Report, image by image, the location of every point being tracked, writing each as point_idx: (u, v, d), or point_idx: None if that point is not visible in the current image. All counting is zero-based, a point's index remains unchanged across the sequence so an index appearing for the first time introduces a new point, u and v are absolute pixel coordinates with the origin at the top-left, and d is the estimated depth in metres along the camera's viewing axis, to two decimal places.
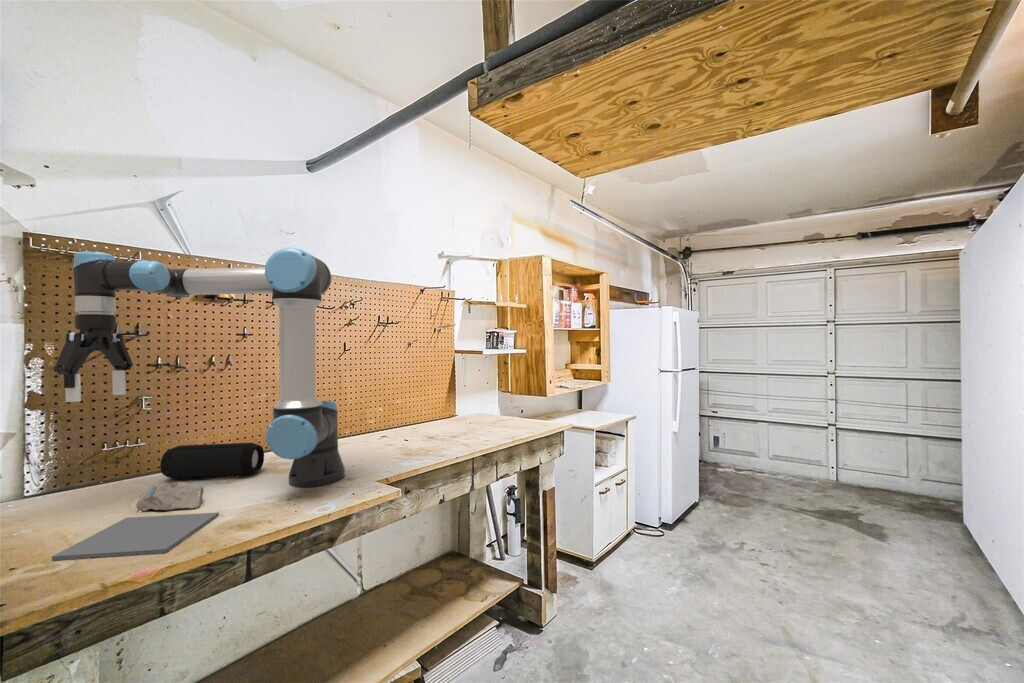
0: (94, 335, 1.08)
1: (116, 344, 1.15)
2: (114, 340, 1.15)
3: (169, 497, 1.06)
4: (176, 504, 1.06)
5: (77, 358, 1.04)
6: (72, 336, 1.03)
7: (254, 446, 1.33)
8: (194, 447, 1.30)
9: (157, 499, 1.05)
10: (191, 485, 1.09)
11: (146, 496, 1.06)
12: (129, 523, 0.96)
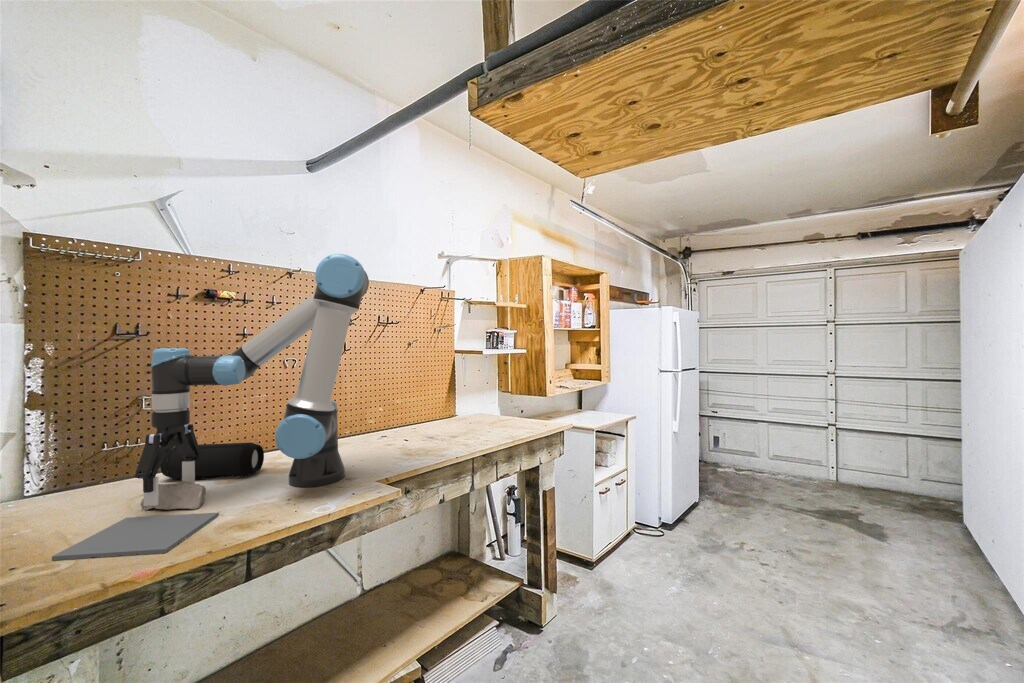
0: (170, 433, 1.06)
1: (187, 435, 1.14)
2: (185, 432, 1.13)
3: (171, 497, 1.06)
4: (177, 504, 1.06)
5: (155, 460, 1.02)
6: (151, 438, 1.01)
7: (254, 446, 1.33)
8: None
9: (159, 498, 1.06)
10: (193, 485, 1.09)
11: None
12: (129, 523, 0.96)
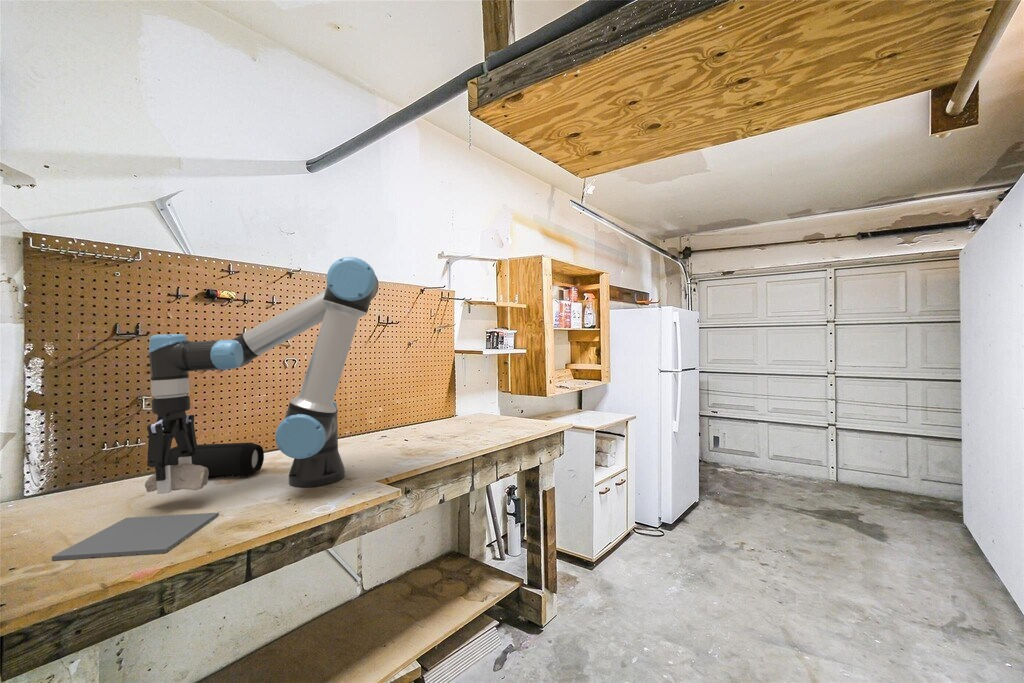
0: (171, 417, 1.06)
1: (186, 425, 1.13)
2: (186, 421, 1.13)
3: (173, 478, 1.06)
4: (180, 485, 1.06)
5: (163, 449, 1.04)
6: (153, 429, 1.01)
7: (254, 446, 1.33)
8: None
9: None
10: (196, 467, 1.09)
11: (153, 476, 1.06)
12: (129, 523, 0.96)
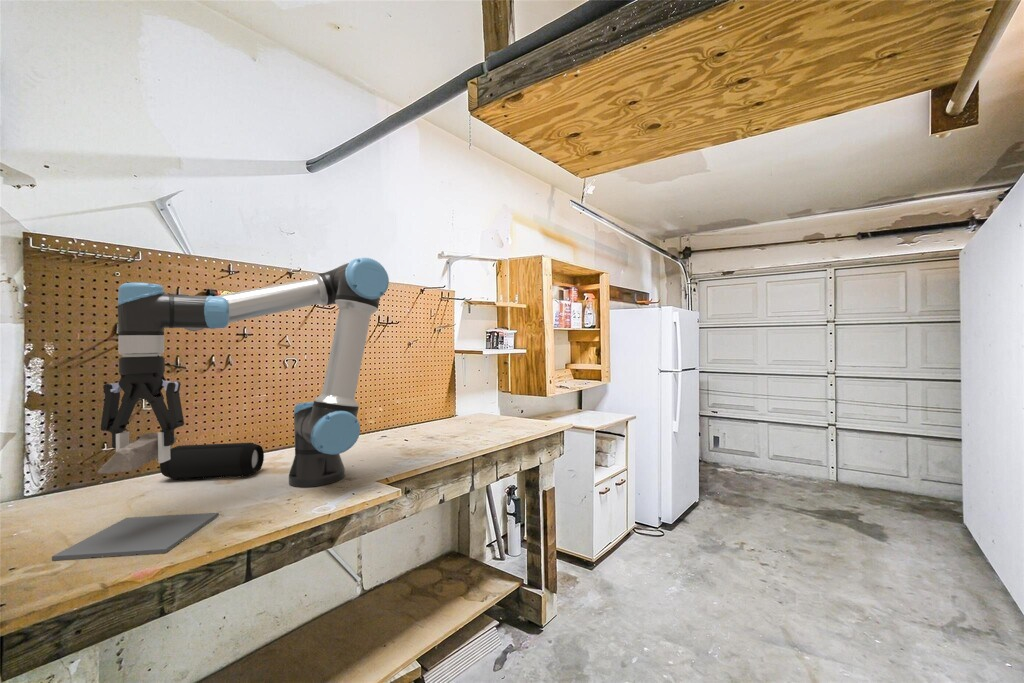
0: (128, 380, 0.91)
1: None
2: None
3: None
4: None
5: None
6: None
7: (254, 446, 1.33)
8: (194, 447, 1.30)
9: None
10: (127, 445, 0.88)
11: None
12: (129, 523, 0.96)
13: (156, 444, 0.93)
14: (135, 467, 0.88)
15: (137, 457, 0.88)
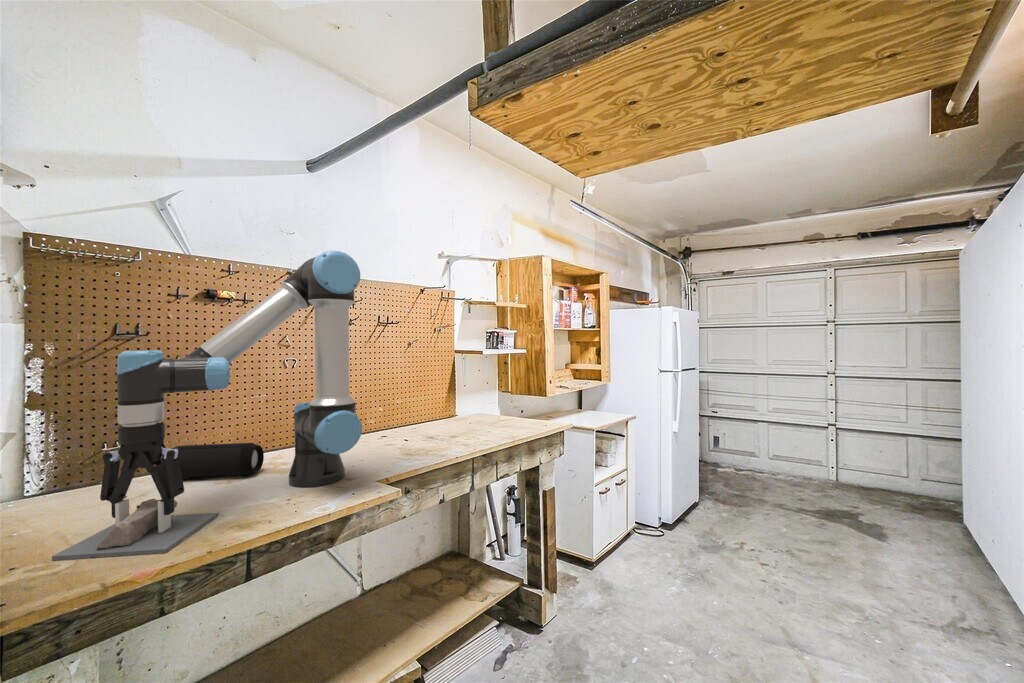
0: (127, 448, 0.90)
1: None
2: None
3: None
4: None
5: None
6: None
7: (254, 446, 1.32)
8: (194, 447, 1.30)
9: None
10: (126, 517, 0.87)
11: None
12: None
13: (156, 513, 0.91)
14: (134, 540, 0.87)
15: (136, 529, 0.87)
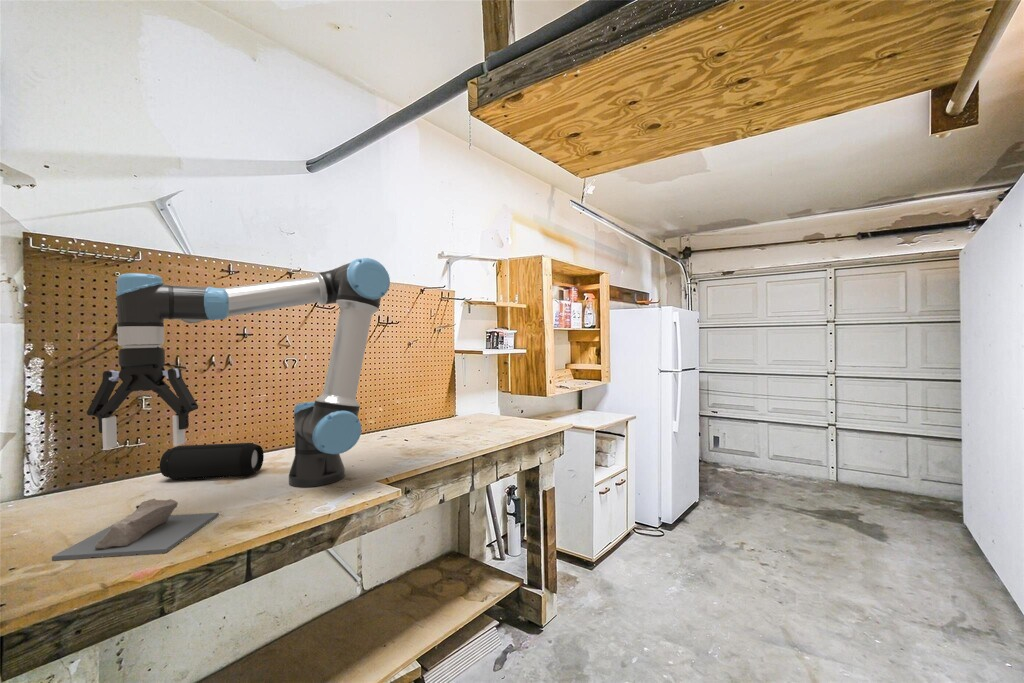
0: (129, 373, 0.91)
1: None
2: None
3: None
4: None
5: None
6: None
7: (253, 446, 1.32)
8: (193, 447, 1.30)
9: None
10: (124, 518, 0.87)
11: None
12: None
13: (155, 513, 0.91)
14: (132, 540, 0.87)
15: (134, 530, 0.87)
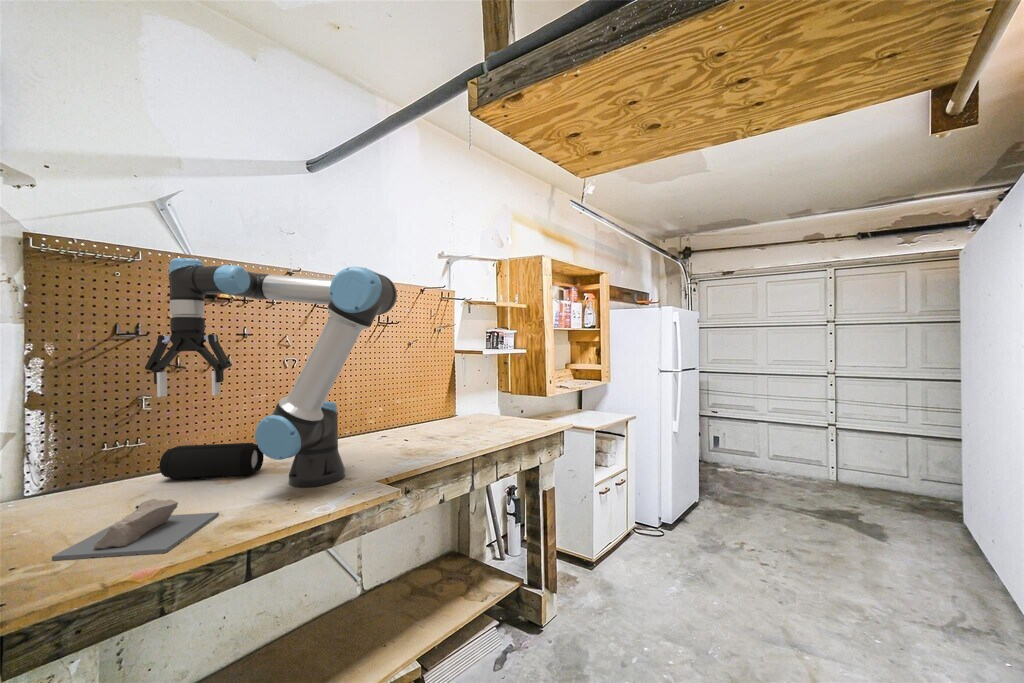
0: (178, 337, 1.15)
1: None
2: None
3: None
4: None
5: None
6: None
7: (253, 446, 1.32)
8: (193, 447, 1.30)
9: None
10: (123, 518, 0.87)
11: None
12: None
13: (154, 514, 0.91)
14: (131, 541, 0.86)
15: (133, 530, 0.87)
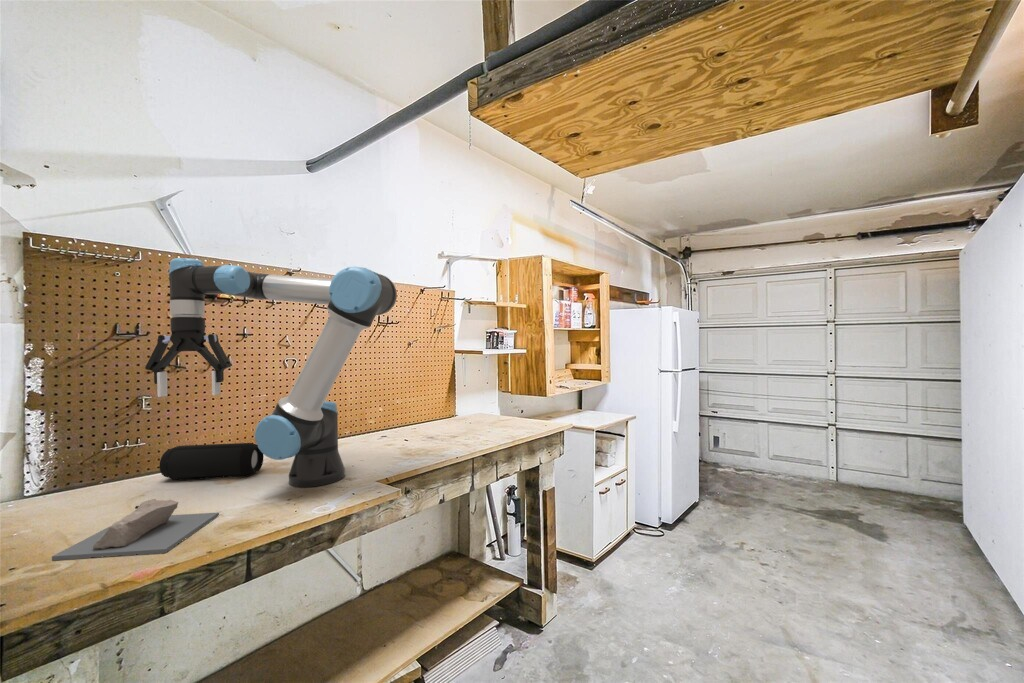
0: (178, 337, 1.16)
1: None
2: None
3: None
4: None
5: None
6: None
7: (253, 446, 1.32)
8: (193, 447, 1.30)
9: None
10: None
11: None
12: None
13: (154, 514, 0.91)
14: (130, 541, 0.86)
15: (132, 530, 0.86)
